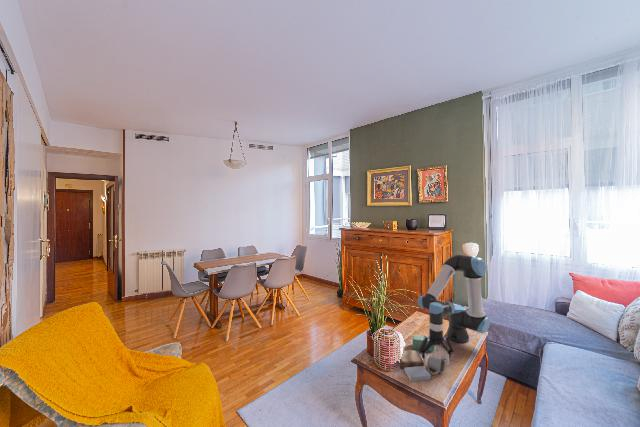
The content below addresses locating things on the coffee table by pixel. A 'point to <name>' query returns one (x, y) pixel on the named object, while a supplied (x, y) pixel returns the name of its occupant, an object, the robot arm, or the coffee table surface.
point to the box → (420, 342)
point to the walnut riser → (410, 359)
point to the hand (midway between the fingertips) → (436, 363)
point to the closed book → (417, 373)
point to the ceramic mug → (436, 364)
